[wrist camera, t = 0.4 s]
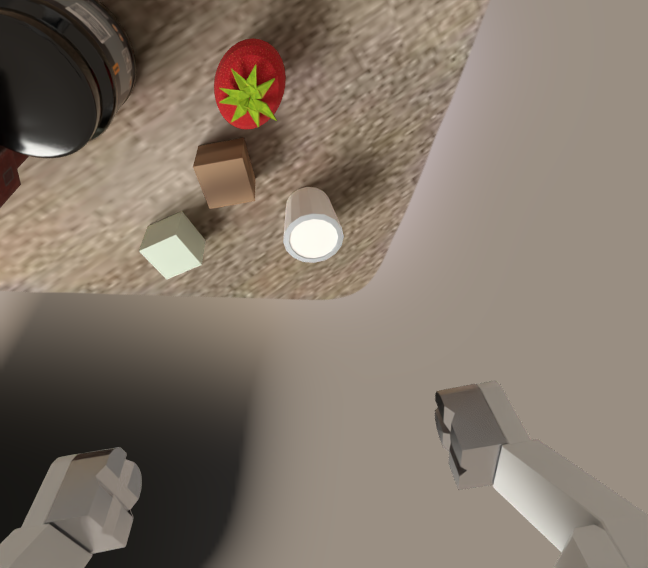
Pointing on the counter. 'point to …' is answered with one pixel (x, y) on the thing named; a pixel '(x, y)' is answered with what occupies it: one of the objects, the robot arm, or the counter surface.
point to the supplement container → (60, 74)
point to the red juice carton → (9, 172)
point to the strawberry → (249, 83)
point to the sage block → (173, 245)
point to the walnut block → (225, 173)
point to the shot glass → (311, 226)
